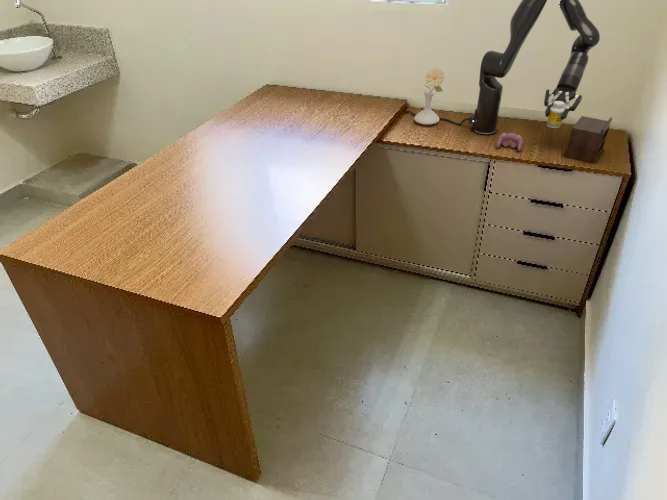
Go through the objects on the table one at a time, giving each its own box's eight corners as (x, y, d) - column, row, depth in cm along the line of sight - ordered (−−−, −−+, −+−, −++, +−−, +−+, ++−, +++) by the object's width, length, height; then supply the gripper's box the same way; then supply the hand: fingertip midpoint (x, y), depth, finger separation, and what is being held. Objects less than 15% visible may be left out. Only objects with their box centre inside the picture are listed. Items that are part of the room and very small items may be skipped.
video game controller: (520, 152, 207) (525, 135, 206) (520, 151, 203) (524, 134, 202) (496, 148, 211) (500, 131, 209) (495, 147, 207) (499, 130, 205)
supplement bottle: (552, 122, 205) (557, 99, 200) (563, 126, 202) (569, 102, 196) (543, 125, 203) (549, 101, 197) (554, 129, 199) (560, 105, 194)
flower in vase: (408, 122, 232) (412, 66, 217) (424, 115, 238) (429, 61, 223) (431, 130, 224) (436, 73, 209) (447, 123, 230) (453, 67, 215)
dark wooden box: (564, 156, 200) (573, 123, 192) (574, 143, 209) (582, 112, 201) (593, 163, 195) (603, 130, 187) (602, 149, 204) (612, 117, 196)
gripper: (589, 86, 199) (573, 125, 199) (552, 80, 206) (536, 118, 206) (590, 76, 193) (573, 116, 192) (551, 70, 200) (535, 109, 199)
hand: (554, 117), depth 199 cm, fingers closed on supplement bottle, 5 cm apart
